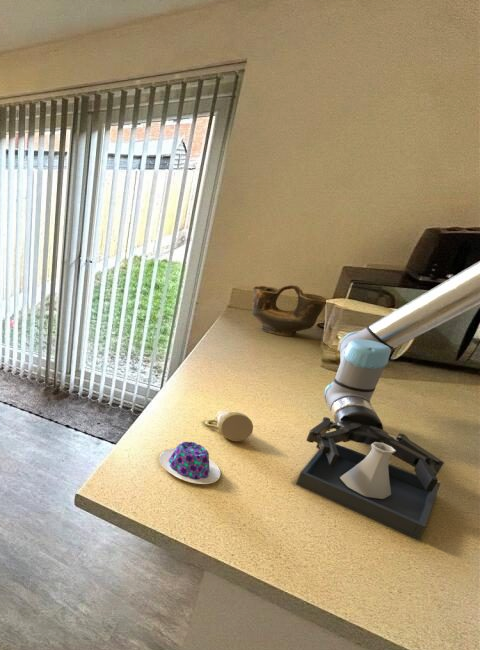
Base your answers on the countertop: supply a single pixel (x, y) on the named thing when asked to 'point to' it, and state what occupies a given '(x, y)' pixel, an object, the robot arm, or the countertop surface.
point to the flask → (371, 473)
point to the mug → (232, 425)
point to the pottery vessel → (286, 320)
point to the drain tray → (393, 511)
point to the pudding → (190, 463)
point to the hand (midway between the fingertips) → (381, 472)
